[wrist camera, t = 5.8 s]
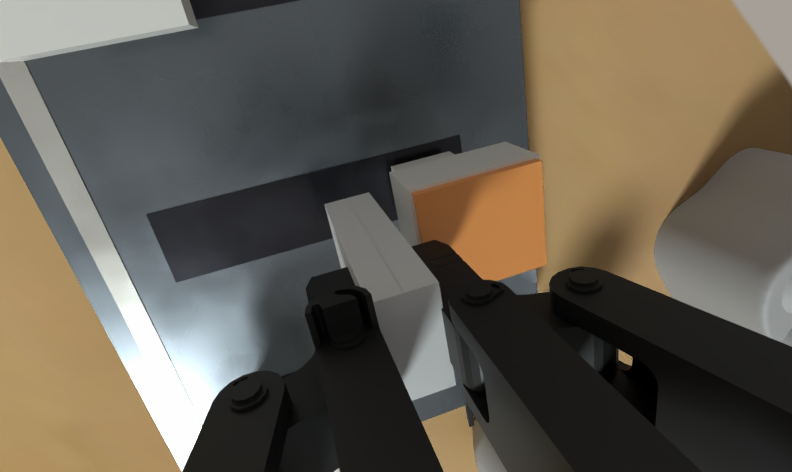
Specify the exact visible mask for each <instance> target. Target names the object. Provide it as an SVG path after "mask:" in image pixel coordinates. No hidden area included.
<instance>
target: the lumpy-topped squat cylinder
mask: <svg viewBox="0 0 792 472" xmlns="http://www.w3.org/2000/svg"><path fill="white" fill-rule="evenodd" d="M654 260H655V265H656V268H657V270H658V273H659V275H660V277H661V279H662V281H663V283H664V285H665V287H666V289H667V290H668V292H669V294H670V295H671V297H672V298H673V299H676V300H678V301H681V302H683V303H686V304H688V305H691V306H693V307H696V308H698V309H700V310H703V311H705V312H708V313H710V314H713V315H715V316H718V317H720V318H723V319H725V320H728V321H730V322H732V323H735V324H737V325H740V326H742V327H745V328H747V329H750V330H752V331H755V332H757V333H759V334H762V335H764V336H767V337H769V338H772V339H774V340H777V341H779V342H782V343H784V344H787V345H789V346H791V347H792V155H790V154H785V153H780V152H775V151H770V150H765V149H760V148H747V149H744V150H741V151H739V152H737V153H736V154H734V155H733V156H732V157H730V158H729V159H728V160H727V161H726V162H725V163H724V164H723V165H722V166H721V167H720V169H719V170H718V171H717V172H716V173H715V174H714V176H713V177H712V178H711V179H710V180H709V181H708V182H707V183H706V184H705V185H704V186H703V187H702V188H701V189H700V190H699V191H698V192H697V193H695V194H694V195H693V196H691V197H690V198H689V199H687V200H686V201H684V202H683V203H682V204H680V205H679V206H678V207H677V208H676V209H674V210H673V211H672V212H671V213H670V214H669V215H668V217H667V218H666V219H665V220H664V222H663V223H662V225H661V227H660V229H659V231H658V234H657V237H656V241H655V246H654Z"/></svg>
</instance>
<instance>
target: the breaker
mask: <svg viewBox="0 0 792 472" xmlns="http://www.w3.org/2000/svg"><path fill="white" fill-rule="evenodd" d="M195 28H198V25H197V22H196V19H195V16H194V13H193V10H192V7H191V4H190V1H189V0H0V63H1V62H15V61H27V60H32V59H37V58H43V57H48V56H53V55H58V54H64V53H69V52H74V51H79V50H85V49H90V48H95V47H100V46H106V45H111V44H116V43H121V42H127V41H132V40H137V39H142V38H148V37H153V36H158V35H163V34H169V33H174V32H179V31H184V30H190V29H195Z"/></svg>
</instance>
